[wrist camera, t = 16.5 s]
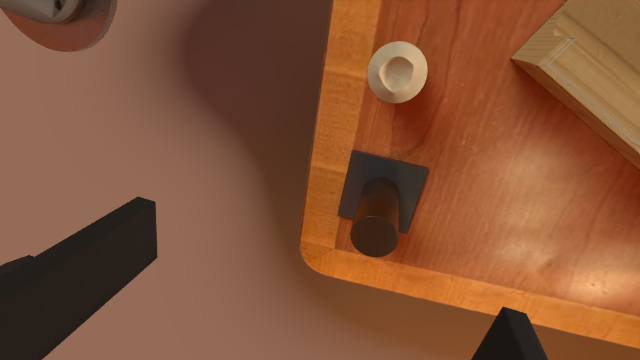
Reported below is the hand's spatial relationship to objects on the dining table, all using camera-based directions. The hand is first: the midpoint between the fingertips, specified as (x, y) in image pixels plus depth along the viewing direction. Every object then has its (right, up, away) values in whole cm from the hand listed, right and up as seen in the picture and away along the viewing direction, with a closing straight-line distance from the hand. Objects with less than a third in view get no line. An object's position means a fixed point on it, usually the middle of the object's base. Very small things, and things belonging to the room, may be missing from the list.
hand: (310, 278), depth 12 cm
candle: (+9, +17, +26) cm, 32 cm away
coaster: (+9, +2, +32) cm, 33 cm away
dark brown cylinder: (+9, +2, +31) cm, 33 cm away
